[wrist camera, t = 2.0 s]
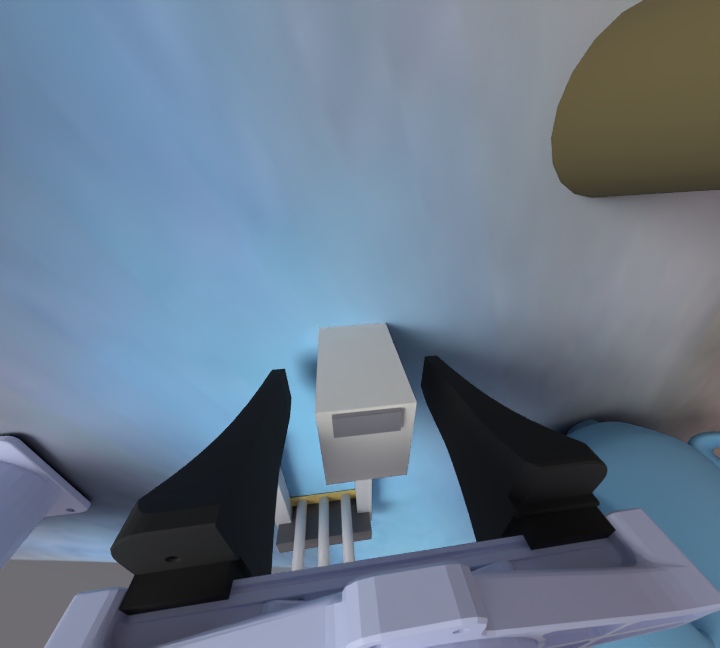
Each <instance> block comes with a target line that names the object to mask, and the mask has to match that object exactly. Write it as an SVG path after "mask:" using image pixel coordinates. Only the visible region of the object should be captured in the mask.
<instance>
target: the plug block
mask: <svg viewBox="0 0 720 648" xmlns="http://www.w3.org/2000/svg"><path fill="white" fill-rule="evenodd" d="M416 405H417V402H416V399H415V397H414V394H413V392H412V389H411V387H410V384H409V381H408V379H407V376H406V374H405V371H404V369H403V366H402V364H401V361H400V359H399V356H398V353H397V351H396V348H395V346H394V343H393V341H392V338H391V336H390V333H389V331H388V328H387V325H386V323H377V324H364V325H351V326H337V327H324V328H319V337H318V359H317V381H316V403H315V416H316V422H317V428H318V435H319V441H320V447H321V454H322V460H323V466H324V472H325V479H326V485H329V484H337V483H345V482H353V481H360V480H368V479H376V478H384V477H392V476H399V475H407V470H408V463H409V456H410V448H411V441H412V434H413V426H414V419H415V412H416Z"/></svg>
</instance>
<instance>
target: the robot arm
mask: <svg viewBox="0 0 720 648" xmlns="http://www.w3.org/2000/svg"><path fill="white" fill-rule="evenodd" d="M421 388H422V391H423V394H424V397H425V400H426V403H427V405H428V408H429V410H430V412H431V414H432V416H433V418H434V421H435V423H436V425H437V427H438V429H439V431H440V433H441V436H442V438H443V440H444V442H445V444H446V447H447V449H448V452H449V455H450V458H451V460H452V463H453V466H454V469H455V472H456V475H457V478H458V481H459V484H460V487H461V490H462V493H463V497H464V500H465V503H466V506H467V510H468V513H469V516H470V520H471V524H472V527H473V531H474V534H475V538H476V542H475V543H468V544H462V545H455V546H449V547H443V548H436V549H430V550H423V551H417V552H411V553H404V554H398V555H391V556H385V557H379V558H372V559H366V560H359V561H353V562H346V563H340V564H334V565H327V566H321V567H314V568H308V569H302V570H295V571H290V572H283V573H276V574H271V568H272V552H273V537H274V524H275V511H276V501H277V490H278V480H279V471H280V465H281V459H282V454H283V449H284V444H285V439H286V434H287V429H288V424H289V419H290V410H291V394H290V390H289V385H288V381H287V376H286V372H285V369H277V370H272V371H271V372H270V374H269V375H268V376H267V378H266V379H265V381H264V382H263V384H262V385H261V387H260V388H259V389H258V391H257V392H256V393H255V395H254V396H253V397H252V399H251V400H250V401H249V403H248V404H247V405H246V406H245V408H244V409H243V410H242V411H241V412H240V414H239V415H238V416H237V417H236V418H235V419H234V421H233V422H232V423H231V424H230V425H229V426H228V427H227V428H226V429H225V430H224V431H223V432H222V433H221V434H220V435H219V436H218V437H217V438H216V439H215V440H214V441H213V442H212V443H211V444H210V445H209V446H208V447H207V448H205V449H204V450H203V451H202V452H201V453H200V454H199V455H198V456H196V457H195V458H194V459H193V460H192V461H190V462H189V463H188V464H187V465H186V466H184V467H183V468H182V469H180V470H179V471H178V472H177V473H175V474H174V475H173V476H171V477H170V478H169V479H167V480H166V481H165V482H163V483H162V484H160V485H159V486H158V487H156V488H155V489H153V490H152V491H151V492H149V493H148V494H146V495H145V496H143V497H142V498H140V499H139V500H138V502H137V504H136V505H135V507H134V508H133V510H132V511H131V513H130V515H129V516H128V518H127V520H126V522H125V524H124V525H123V527H122V529H121V531H120V533H119V534H118V536H117V538H116V540H115V541H114V543H113V545H112V547H111V548H110V550H111V555H112V557H113V558H114V559H115V560H116V561H117V562H118V563H119V564H121V565H122V566H123V567H125V568H126V569H127V570H129V571H130V572H131V573H133V574H134V578H133V580H132V582H131V584H130V586H129V588H124V587H113V588H107V589H101V590H94V591H87V592H81V593H78V594H77V595H75V596H74V598H73V600H72V601H71V603H70V605H69V606H68V608H67V610H66V612H65V613H64V615H63V617H62V618H61V620H60V622H59V623H58V625H57V627H56V628H55V630H54V632H53V633H52V635H51V637H50V639H49V640H48V642H47V644H46V645H45V647H44V648H588V647H592V646H596V645H600V644H604V643H609V642H613V641H617V640H621V639H625V638H630V637H634V636H639V635H643V634H648V633H652V632H657V631H662V630H667V629H672V628H676V627H679V626H682V625H684V624H687V623H689V622H691V621H694V620H696V619H699V618H701V617H704V616H706V615H709V614H711V613H714V612H716V611H719V610H720V592H719V591H718V590H717V589H716V588H715V587H714V586H713V585H712V583H711V582H710V581H709V580H708V579H707V578H706V577H705V576H704V575H703V574H702V573H701V572H700V571H699V570H698V568H697V567H696V566H695V565H694V564H693V563H692V562H691V561H690V560H689V559H688V558H687V557H686V556H685V555H684V554H683V552H682V551H681V550H680V549H679V548H678V547H677V546H676V545H675V544H674V543H673V542H672V541H671V540H670V539H669V537H668V536H667V535H666V534H665V533H664V532H663V531H662V530H661V529H660V528H659V527H658V526H657V525H656V524H655V523H654V521H653V520H652V519H651V518H650V517H649V516H648V515H647V514H646V513H645V512H644V511H643V510H642V509H641V508H632V509H625V510H619V511H613V512H610V513H607V514H605V515H603V513H602V512H601V511H600V510H599V509H598V507H597V506H599V505H600V502H599V500H598V499H597V498H596V497H595V496H594V494H593V491H594V490H595V489H596V488H597V487H598V486H599V484H600V483H601V482H602V481H603V480H604V478H605V477H606V475H607V469H608V468H607V466H606V464H605V463H604V462H603V461H602V460H601V459H600V458H599V457H598V456H597V455H596V454H595V453H594V452H593V451H592V449H591V448H590V447H589V446H588V445H587V444H586V443H583V442H581V441H578V440H576V439H573V438H571V437H568V436H566V435H563V434H560V433H558V432H555V431H553V430H551V429H549V428H546V427H544V426H542V425H540V424H538V423H536V422H533V421H531V420H529V419H527V418H525V417H524V416H522V415H520V414H518V413H516V412H514V411H512V410H510V409H509V408H507V407H505V406H503V405H502V404H500V403H499V402H497V401H495V400H494V399H492V398H491V397H489V396H488V395H486V394H485V393H483V392H482V391H480V390H479V389H477V388H476V387H475V386H473V385H472V384H471V383H469V382H468V381H467V380H465V379H464V378H463V377H462V376H460V375H459V374H458V373H457V372H455V371H454V370H453V369H452V368H451V367H449V366H448V365H447V364H446V363H445V362H443V361H442V360H441V359H440V358H439V357H437V356H426V357H425V360H424V367H423V374H422V381H421ZM90 506H91V503H90V502H89V501H88V500H87V499H86V498H85V497H84V496H82V495H81V494H80V493H79V492H78V491H77V490H76V489H75V488H73V487H72V486H71V485H70V484H69V483H68V482H67V481H66V480H65V479H63V478H62V477H61V476H60V475H59V474H58V473H57V472H56V471H54V470H53V469H52V468H51V467H50V466H49V465H48V464H47V463H45V462H44V461H43V460H42V459H41V458H40V457H39V456H38V455H37V454H35V453H34V452H33V451H32V450H31V449H30V448H29V447H28V446H26V445H25V444H24V443H23V442H22V441H21V440H19V439H18V438H16V437H13V436H0V570H1V569H2V568H3V566H4V565H5V564H6V563H7V561H8V560H9V559H10V558H11V557H12V555H13V554H14V553H15V552H16V551H17V549H18V548H19V547H20V546H21V544H22V543H23V542H24V541H25V540H26V538H27V537H28V536H29V535H30V533H31V532H32V531H33V530H34V528H35V527H36V526H37V525H38V524H39V522H40V521H41V520H42V519H43V517H51V516H58V515H66V514H74V513H82V512H85V511H87V510H88V508H89V507H90Z"/></svg>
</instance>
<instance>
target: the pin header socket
mask: <svg viewBox="0 0 720 648" xmlns="http://www.w3.org/2000/svg"><path fill="white" fill-rule="evenodd" d="M371 516H372V479H368V480H360V481H355V489H354V490H346V491H339V492H331V493H324V494H316V495H309V496H301V497H294V498H290V495H289V492H288V488H287V485H286V482H285V479H284V476H283V472H282V469H281V466H280V471H279V480H278V490H277V501H276V511H275V523H276V525H277V528H278V535H277V542H276V545H277V547H278V550H279V552H280V553H282V552H288V551H293V560H292V571H295V570H302V569H303V567H304V549H308V548H315V547H318V567H321V566H327V565H329V545H335V544H341V543H343V562H344V563H346V562H353V561H355V556H354V543H353V542H354V541H361V540H368V539H371V536H372V530H371V522H370V521H371Z"/></svg>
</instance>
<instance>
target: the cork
mask: <svg viewBox="0 0 720 648" xmlns="http://www.w3.org/2000/svg"><path fill="white" fill-rule="evenodd" d="M551 138H552V158H553V165H554V167H555V170H556V172H557V174H558V177H559V179H560V181H561V183H563V184H564V185H565V186H566V187H567V188H568V189H569V190H571V191H572V192H573V193H574V194H579V195H583V196H587V197H607V196H623V195H640V194H656V193H672V192H689V191H705V190H720V0H643V1H642V2H640V3H638V4H636V5H635V6H633V7H631V8H629V9H628V10H626V11H624V12H623V13H622V14H621V15H620V16H619V17H617V18H616V19H615V20H614V21H613V22H612V23H611V24H610V25H609V26H608V27H607V28H606V29H605V30H604V31H603V32H602V33H601V34H600V35H599V36H598V37H597V38H596V39H595V40H594V42H593V43H592V45H591V46H590V48H589V49H588V50H587V52H586V53H585V55H584V56H583V58H582V59H581V61H580V62H579V64H578V65H577V67H576V68H575V70H574V71H573V73H572V75H571V77H570V80H569V82H568V84H567V86H566V89H565V91H564V93H563V96H562V98H561V100H560V103H559V105H558V108H557V113H556V118H555V123H554V128H553V132H552V137H551Z"/></svg>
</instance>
